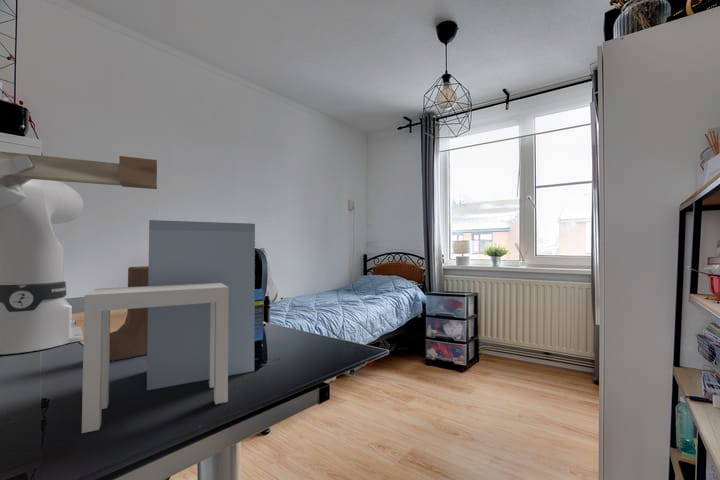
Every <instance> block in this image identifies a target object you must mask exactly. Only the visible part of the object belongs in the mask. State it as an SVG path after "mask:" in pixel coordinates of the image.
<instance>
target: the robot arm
mask: <svg viewBox="0 0 720 480" xmlns="http://www.w3.org/2000/svg"><path fill="white" fill-rule="evenodd" d="M33 168H34V164H33V163H32V161H31V160H30V159H29V158H28V157H27V156H25V155H20V156H16V157H13V158H10V159H0V355H11V354H20V353H28V352H29V353H30V352H33V351H34V352H35V351H40V350H46V349H50V348H51V349H52V348H55V347H58V346H63V345H66V344H70V343H76V342H81V341H84V333H83V330H82V327H81V326H76V325H77V321H76V320H74V319H73V320H72V315H73V314H72V312H73V311H72V309H73V307H72V305H71V304H70V303H69V302H68V301H67V299H66V296H67V284H66V283H67V281H64V274H65V273H64V272H65V271H64V269H65V268H64V265H65V249H64V247H63V245H62V244H61V243H60V242H59V240H58V239H57V237H56V234H55V232H54V229H53V225H59V224H65V223H69V222H72V221H73V220H76V219H77V218H78V217H79V216H80V215H81V214H82V212H83V209H84V202H83V198H82V196H81V194H80V193H79V192H77V191H76V189H74V188H73V187H71V186H69V185H68V184H67V183H66V182H65V183H64V182H63V181H52V180H38V179H25V178H11V177H3V176H6V175H9V174H13V173H17V172H21V173H22V172H25V171H28V170H31V169H33Z"/></svg>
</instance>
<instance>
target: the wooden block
mask: <svg viewBox="0 0 720 480" xmlns="http://www.w3.org/2000/svg"><path fill="white" fill-rule="evenodd" d="M148 274H149V265H147V266H143V265H141V266H129V267H128V268H127V287H143V286H148ZM126 310H127V314H126V317H125V321H124V323H123V324H122V325H121V326H120V327H119V328H118V329H117V330H115V331H112V332H111V331H110V355H109V363H110V362H115V361H119V360H125V359H130V358H135V357H136V358H137V357H141V356H145V355H146V356H147V342H148V307H147V308H133V309H126Z"/></svg>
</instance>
